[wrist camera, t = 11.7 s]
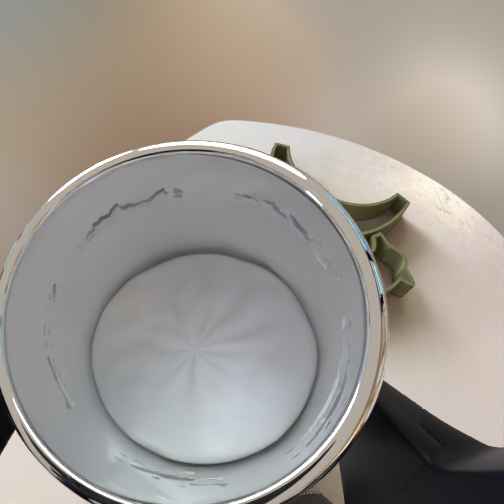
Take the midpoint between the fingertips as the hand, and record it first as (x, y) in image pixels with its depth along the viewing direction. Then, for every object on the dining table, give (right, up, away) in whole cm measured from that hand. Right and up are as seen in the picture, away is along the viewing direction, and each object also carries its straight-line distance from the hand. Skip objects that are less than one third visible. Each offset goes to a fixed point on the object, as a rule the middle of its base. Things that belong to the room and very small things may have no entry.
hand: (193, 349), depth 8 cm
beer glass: (0, -5, +8) cm, 10 cm away
